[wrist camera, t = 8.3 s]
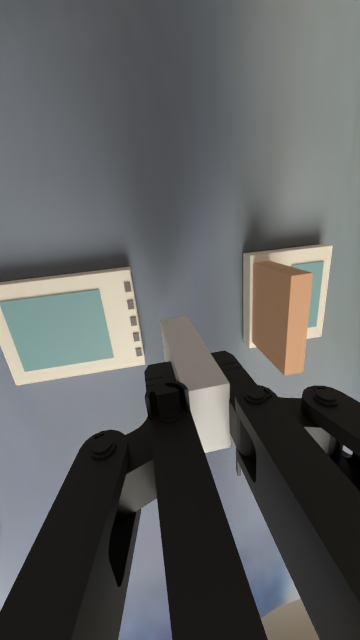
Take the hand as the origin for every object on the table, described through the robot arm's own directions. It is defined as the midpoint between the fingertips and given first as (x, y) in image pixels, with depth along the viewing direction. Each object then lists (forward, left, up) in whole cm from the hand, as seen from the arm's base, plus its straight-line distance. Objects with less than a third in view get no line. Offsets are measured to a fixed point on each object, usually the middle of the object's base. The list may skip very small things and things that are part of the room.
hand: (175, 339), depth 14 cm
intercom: (+9, 0, -5) cm, 10 cm away
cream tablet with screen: (-7, 0, -5) cm, 8 cm away
